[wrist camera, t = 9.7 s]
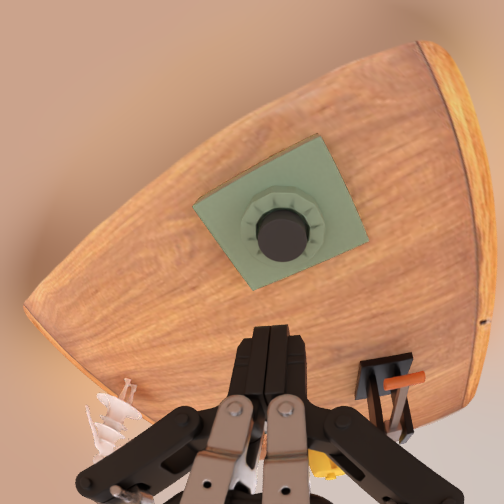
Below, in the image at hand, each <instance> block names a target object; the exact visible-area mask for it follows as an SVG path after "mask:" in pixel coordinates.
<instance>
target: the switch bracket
mask: <svg viewBox="0 0 504 504" xmlns="http://www.w3.org/2000/svg"><path fill="white" fill-rule="evenodd" d="M412 361H413V355H412V352H411V353H406V354H401V355H396V356H390V357H384V358H378V359H372V360H366V361H360V367H359V373H358V379H357V384H356V390H355V400H359V399H366V398H367V402H368V410H369V418H370V422H371V423H372V424H374V425H375V426H376V427H377V428H379V429H380V430H381V431H382V432H383V433H385V430H384V422H383V415H382V409H381V403H380V397H379V396H384V395H389V394H391V397H392V402H393V406H394V402H395V398H396V393H397V389H398V388H397V389H392V390H387V391H385V390H384V386H383V382H384V379H387V378H392V377H397V376H402V375H407V374H408V371H409V369H410V366H411V364H412ZM400 423H401V427H402V433H401V435H400V438H399V444H404V443H406V442H407V441H408V439H409V438H410V437H411V435H413V433H414V430H413V424H412V419H411V414H410V409H409V405H408V400H407V397H406V400H405V404H404V408H403V411H402V415H401V418H400Z"/></svg>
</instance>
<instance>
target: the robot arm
mask: <svg viewBox="0 0 504 504" xmlns="http://www.w3.org/2000/svg"><path fill="white" fill-rule="evenodd" d="M265 419H267V453H266V457H265V459H264V466H263V493H258V494H254V493H255V489H256V484H257V467H258V463H259V458H260V453H261V449H262V444H263V439H264V425H265ZM308 449H310V450H314V451H319V452H323V453H325V454H326V455H327V456H328V457H329V458H330V459H331V460H332V461H333V462H334V463H335V464H336V465H337V466H338V467H339V468H340V469H341V470H342V471H343V472H344V473H346V474H347V475H348V476H349V477H350V478H351V479H352V480H353V481H354V482H356V483H357V484H358V485H359V486H360V487H361V488H362V489H363V490H364V491H366V492H367V493H368V494H369V495H370V496H371V497H373V498H374V499H375V500H376V501H378V502H379V503H380V504H464V495H463V493H462V491H461V490H459V489H458V488H457V487H455V486H454V485H452V484H451V483H449V482H448V481H447V480H445V479H444V478H442V477H441V476H440V475H438V474H436V473H435V472H434V471H433V470H431V469H430V468H429V467H427V466H426V465H425V464H423V463H422V462H421V461H419V460H418V459H416V458H415V457H414V456H413V455H411V454H410V453H409V452H407V451H406V450H405V449H403V448H402V447H401V446H400V445H399V444H397V443H396V442H395V441H393V440H392V439H391V438H390V437H388V436H387V435H386V434H385V433H383V432H382V431H381V430H380V429H379V428H377V427H376V426H375V425H374V424H372V423H371V422H370V421H369V420H368V419H366V418H365V417H364V416H363V415H362V414H360V413H359V412H358V411H357V410H355V409H354V408H352V407H348V406H340V407H336V408H334V409H332V410H330V409H325V408H320V407H317V406H315V405H313V404H312V403H311V402H309V400H308V399H307V362H306V352H305V343H304V341H303V340H302V338H301V336H300V335H294V336H290V334H289V327H288V324H287V325H273V326H259V327H254V331H253V337H252V338H245V339H243V340H242V342H241V343H240V345H239V346H238V348H237V353H236V359H235V363H234V368H233V373H232V377H231V382H230V387H229V392H228V395H227V397H226V398H225V399H224V400H223V401H222V402H221V403H220V405H218V406H217V407H214V408H211V409H206V410H201V411H196V410H195V409H194V408H192V407H189V406H181V407H178V408H176V409H174V410H173V411H171V412H170V413H169V414H167V415H166V416H165V417H163V418H162V419H161V420H159V421H158V422H156V423H155V424H154V425H152V426H151V427H150V428H148V429H147V430H146V431H144V432H142V433H141V434H140V435H138V436H137V437H135V438H134V439H132V440H131V441H129V442H128V443H126V444H125V445H123V446H122V447H120V448H119V449H117V450H116V451H114V452H113V453H111V454H110V455H108V456H106V457H105V458H103V459H102V460H100V461H98V462H97V463H95V464H94V465H92V466H91V467H89V468H87V469H85V470H84V471H82V472H80V473H79V474H78V476H77V478H76V482H75V484H76V488H77V490H78V492H79V493H80V494H81V495H82V496H84V497H86V498H89V499H91V500H93V501H95V502H96V503H97V504H155V503H154V499H153V496H155V495H156V494H158V493H159V492H161V491H162V490H164V489H165V488H167V487H168V486H170V485H171V484H173V483H174V482H176V481H177V480H178V479H180V478H181V477H183V476H184V475H185V474H187V473H188V472H190V471H191V472H190V475H189V478H188V481H187V483H186V486H185V489H184V491H181V492H180V493H178V494H176V495H175V496H173V497H172V498H171V499H169V500H168V501H166V502H165V503H163V504H333V503H332V502H330V501H329V500H327V499H325V498H323V497H321V496H318V495H315V494H311V493H310V472H309V455H308Z"/></svg>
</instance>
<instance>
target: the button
mask: <svg viewBox="0 0 504 504" xmlns="http://www.w3.org/2000/svg"><path fill="white" fill-rule="evenodd" d="M306 245H307V235H306V227H305V224H304V222H303V220H302V219H301V218H300V217H299V216H298V215H297V214H295V213H293V212H291V211H287V210H277V211H274V212H271V213H270V214H268V215H267V216H266V217H265V218H264V219H263V220H262V222H261V225H260V229H259V234H258V246H259V248H260V250H261V252H262V253H263V254H264V255H265V256H266V257H267V258H269V259H271V260H273V261H277V262H288V261H292V260H294V259H296V258H298V257H299V256H300V255H301V254H302V253H303V252H304V250H305V248H306Z"/></svg>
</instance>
